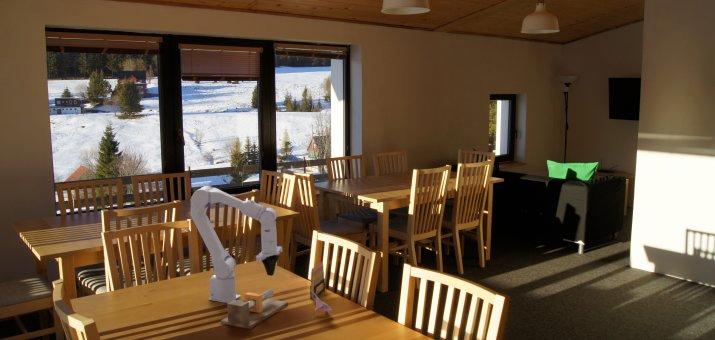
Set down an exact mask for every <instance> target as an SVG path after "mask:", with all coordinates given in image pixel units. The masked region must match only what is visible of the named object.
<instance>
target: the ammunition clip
mask: <svg viewBox="0 0 715 340" xmlns="http://www.w3.org/2000/svg"><path fill="white" fill-rule="evenodd" d="M310 289H311V290H312V291H313V292H314V293H315V294H316V296H317V297H318V298H319V296H320V295H323V293H324V292H325V291H326V278H325V271H324V264H323V261H321V262H319V263H318V264H316V265H315V266H313V268H311V272H310V286H309V297H310V298H309V299H310V300H314V299H313V298H315V299H316V297H315V295H314V294H313V292H312V291H311V290H310Z"/></svg>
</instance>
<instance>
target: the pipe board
mask: <svg viewBox="0 0 715 340" xmlns="http://www.w3.org/2000/svg"><path fill="white" fill-rule="evenodd" d="M262 304H263V311H262V312H260V313H258V312H252V311H249V302H245V301H243V300H238V299H235V300H233V301H231V302H229V303H226V306H227V308H226V309H227V317H225V318H223V319H221V320H220V324H223V325H228V326H232V327H237V328H243V329H248V330H251V329H252V328H254V327H256V326H257V325H259V324H260V323H261V322H263V321H265V320H267V319H268V318H270V317H271V316H272V315H274V314H276V313H277V312H279V311H280V310H282V309H283V308H285V307H287V306H288V305H289V302H288V301H282V300H277V299H272V298H268V299H266V300H264V301H263V302H262Z"/></svg>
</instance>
